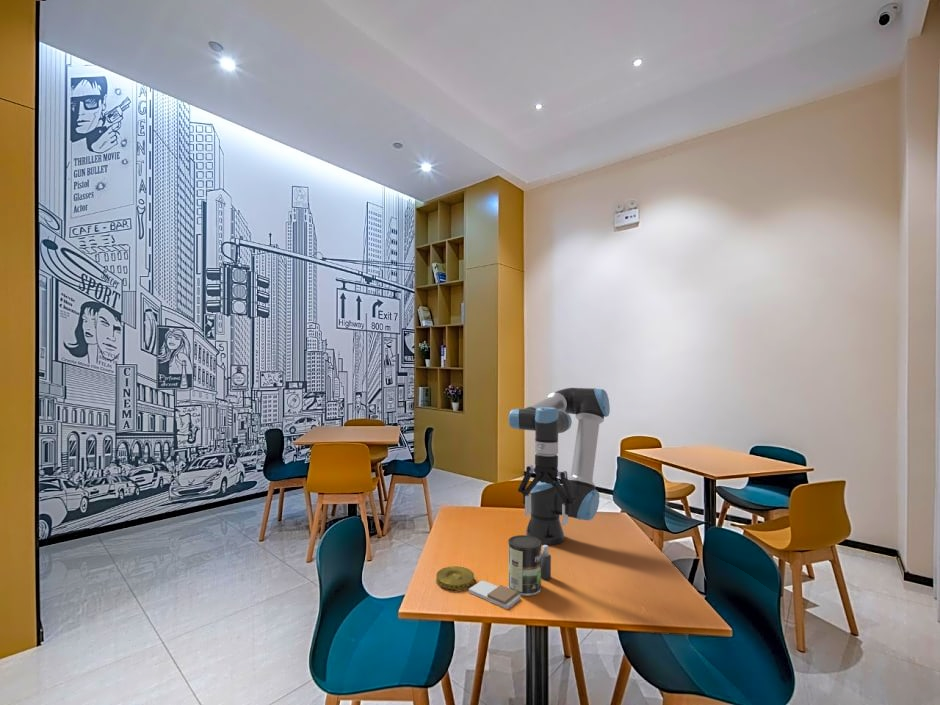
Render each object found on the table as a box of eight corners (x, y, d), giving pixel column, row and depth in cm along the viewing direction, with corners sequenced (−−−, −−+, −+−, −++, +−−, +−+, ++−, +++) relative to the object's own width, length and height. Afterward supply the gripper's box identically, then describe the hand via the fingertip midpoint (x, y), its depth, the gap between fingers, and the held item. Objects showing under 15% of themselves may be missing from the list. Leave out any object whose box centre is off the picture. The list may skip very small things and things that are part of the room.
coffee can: (543, 582, 131) (543, 537, 132) (538, 599, 121) (538, 550, 122) (511, 576, 134) (512, 532, 135) (504, 592, 124) (504, 545, 125)
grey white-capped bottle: (543, 574, 137) (543, 543, 137) (552, 577, 134) (552, 546, 135) (538, 577, 134) (538, 546, 134) (547, 581, 132) (547, 549, 132)
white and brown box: (482, 583, 130) (482, 577, 130) (520, 599, 121) (520, 592, 121) (468, 592, 124) (468, 586, 124) (507, 609, 115) (507, 602, 115)
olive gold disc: (479, 577, 134) (479, 570, 134) (465, 595, 123) (465, 587, 123) (446, 570, 139) (446, 563, 139) (429, 586, 128) (429, 579, 128)
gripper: (508, 450, 141) (507, 513, 140) (577, 461, 126) (576, 532, 125) (520, 448, 147) (519, 508, 146) (586, 457, 132) (586, 525, 130)
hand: (545, 519), depth 135 cm, fingers open, 13 cm apart
